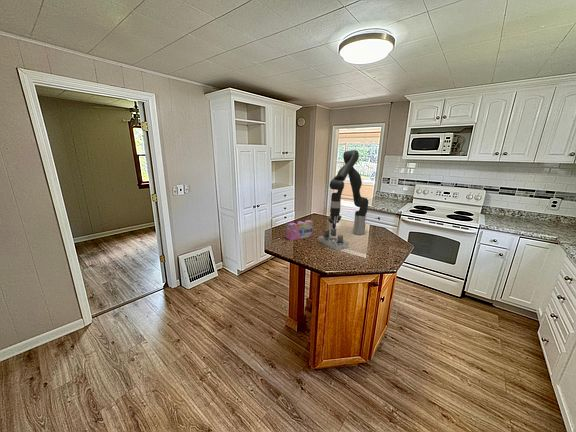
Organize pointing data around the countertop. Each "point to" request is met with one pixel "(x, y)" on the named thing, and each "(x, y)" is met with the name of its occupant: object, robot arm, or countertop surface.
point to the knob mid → (333, 232)
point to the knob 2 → (340, 239)
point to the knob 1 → (326, 233)
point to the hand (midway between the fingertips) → (333, 228)
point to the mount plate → (333, 242)
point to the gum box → (299, 229)
